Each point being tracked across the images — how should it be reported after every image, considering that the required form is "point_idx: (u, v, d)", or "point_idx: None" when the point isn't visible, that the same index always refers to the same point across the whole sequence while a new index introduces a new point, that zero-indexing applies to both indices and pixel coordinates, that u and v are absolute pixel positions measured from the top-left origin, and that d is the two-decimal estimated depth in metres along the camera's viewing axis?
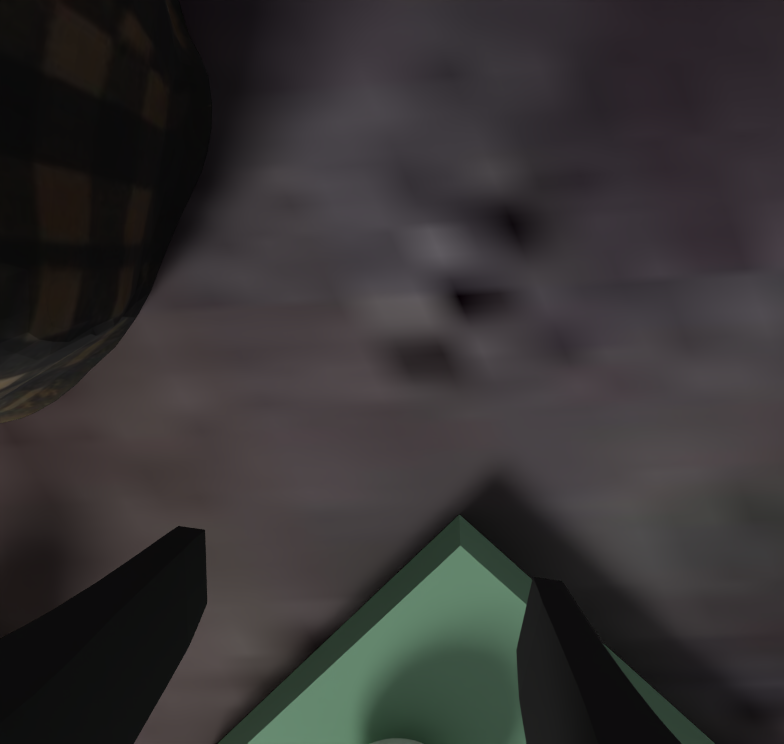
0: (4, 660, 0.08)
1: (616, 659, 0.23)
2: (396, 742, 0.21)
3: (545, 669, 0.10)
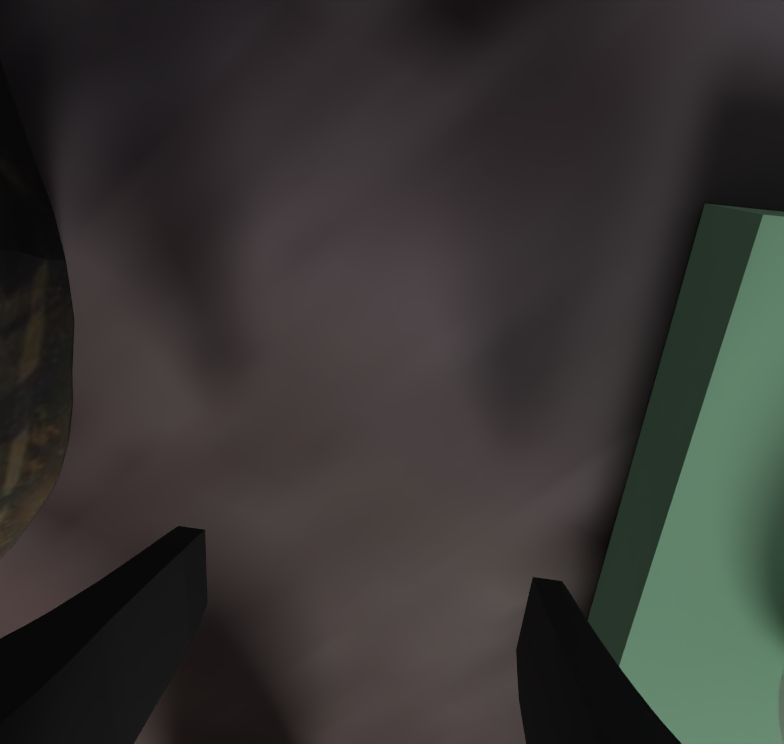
0: (4, 660, 0.08)
1: None
2: None
3: (545, 669, 0.10)
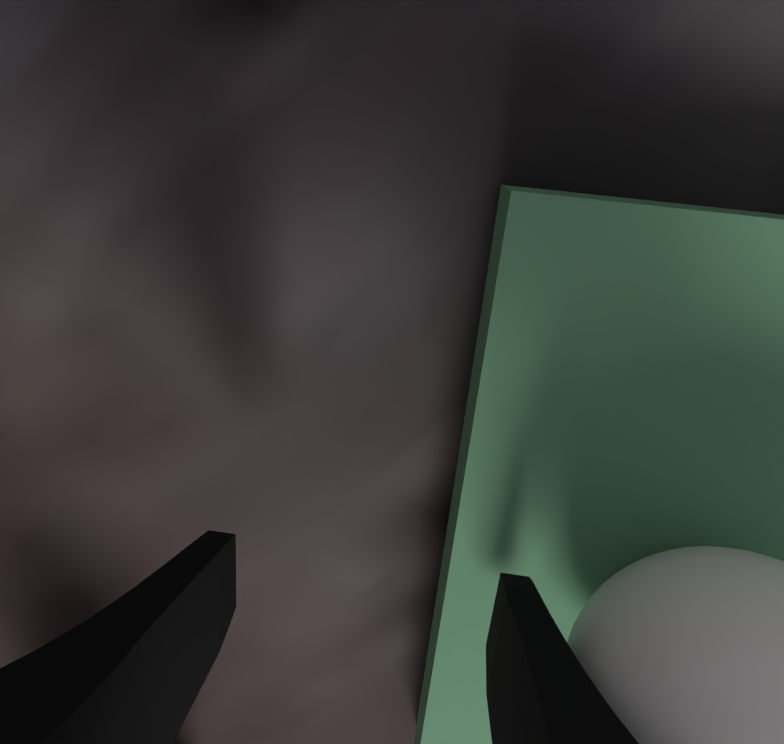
0: (50, 667, 0.08)
1: None
2: (626, 572, 0.11)
3: (508, 663, 0.10)
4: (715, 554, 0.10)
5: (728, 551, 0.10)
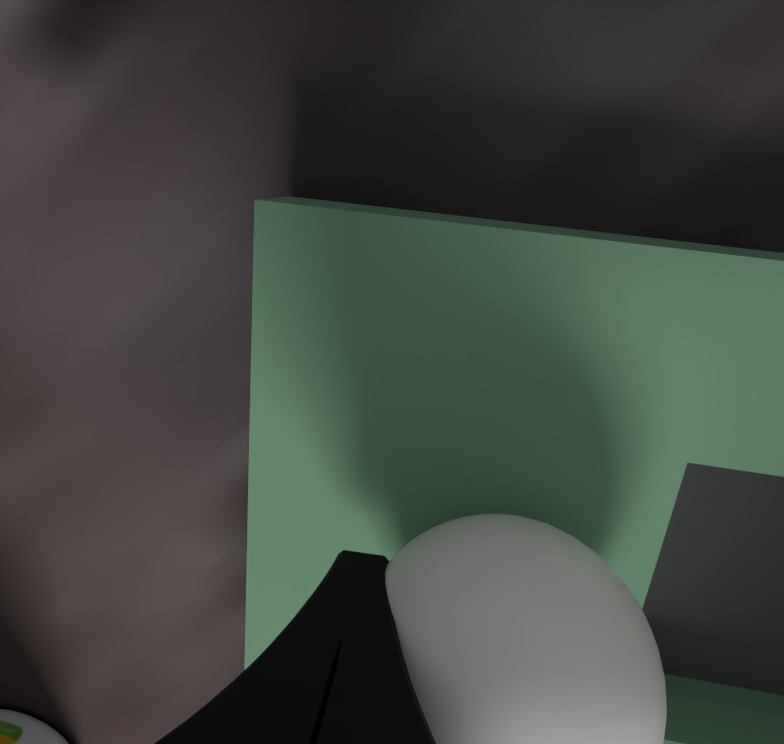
0: (258, 700, 0.08)
1: (651, 238, 0.13)
2: (396, 556, 0.12)
3: None
4: (466, 521, 0.11)
5: (477, 516, 0.12)
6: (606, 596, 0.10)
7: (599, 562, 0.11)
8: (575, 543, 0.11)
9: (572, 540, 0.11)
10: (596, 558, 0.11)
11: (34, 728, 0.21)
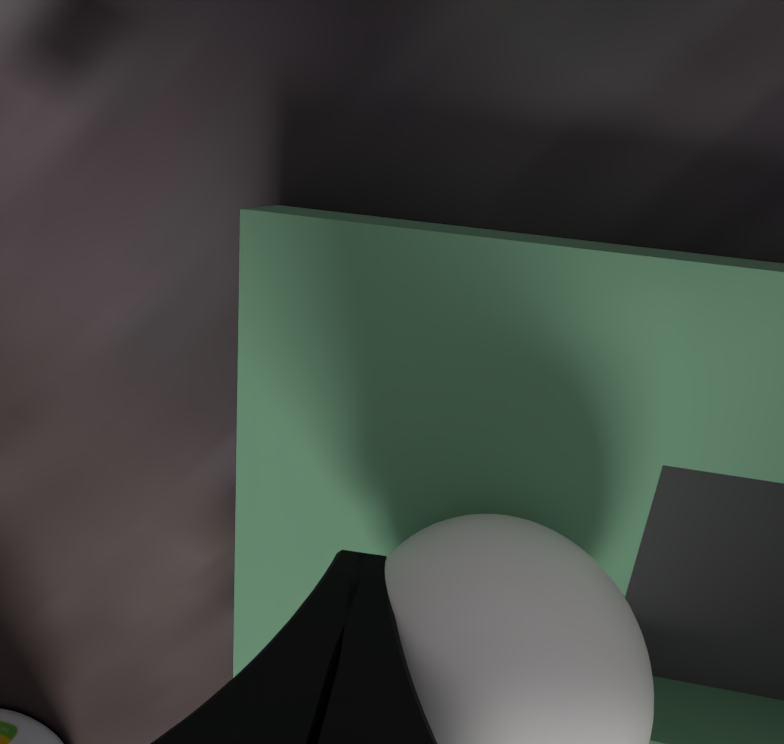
0: (256, 700, 0.08)
1: (628, 246, 0.14)
2: (387, 561, 0.12)
3: None
4: (455, 522, 0.12)
5: (463, 517, 0.12)
6: (594, 585, 0.10)
7: (584, 554, 0.11)
8: (560, 537, 0.11)
9: (557, 534, 0.11)
10: (581, 550, 0.11)
11: (29, 727, 0.22)
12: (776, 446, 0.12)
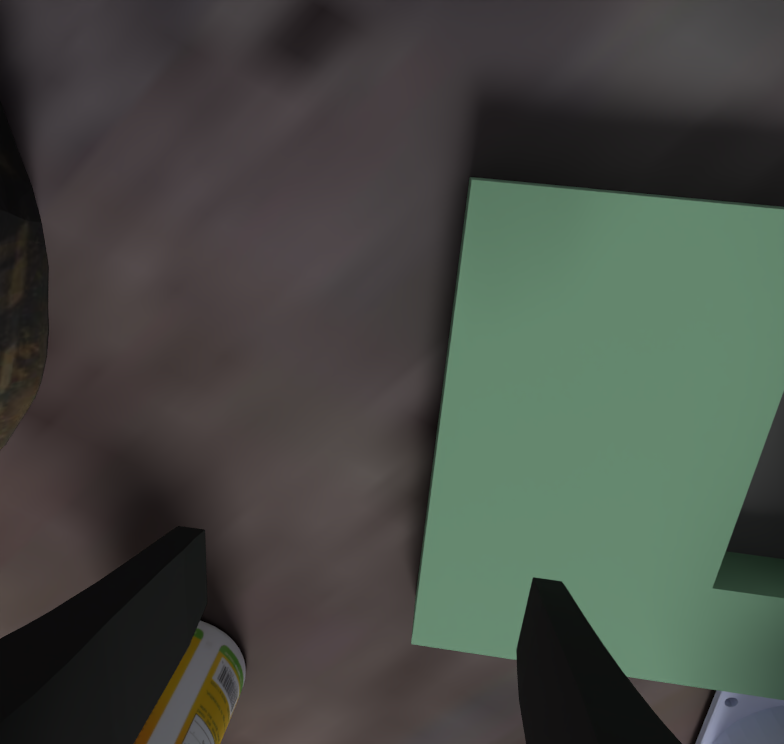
0: (4, 659, 0.08)
1: (758, 204, 0.17)
2: None
3: (545, 669, 0.10)
4: None
5: None
6: None
7: None
8: None
9: None
10: None
11: (211, 630, 0.26)
12: None
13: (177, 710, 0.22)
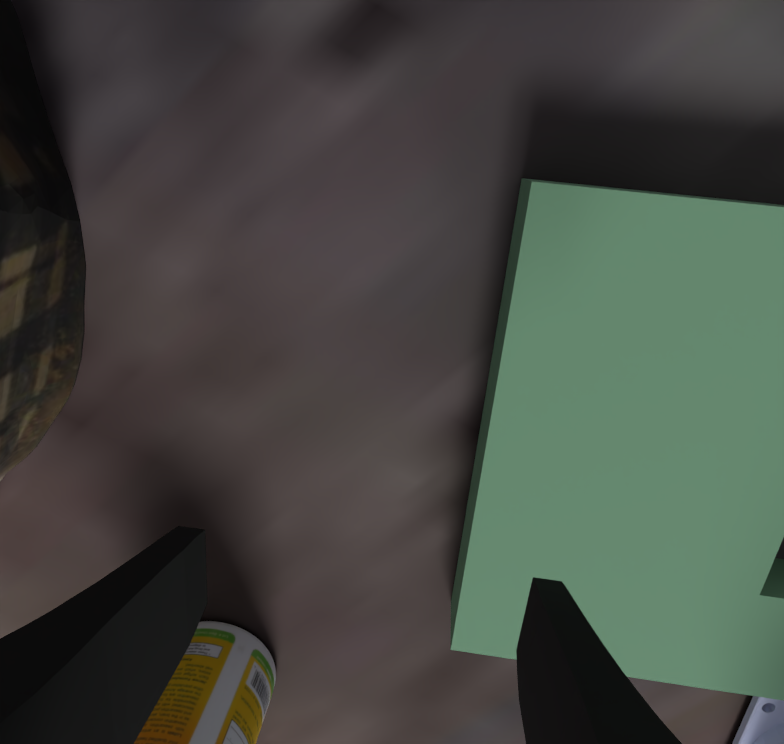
0: (5, 660, 0.08)
1: None
2: None
3: (545, 669, 0.10)
4: None
5: None
6: None
7: None
8: None
9: None
10: None
11: (242, 634, 0.25)
12: None
13: (214, 716, 0.22)
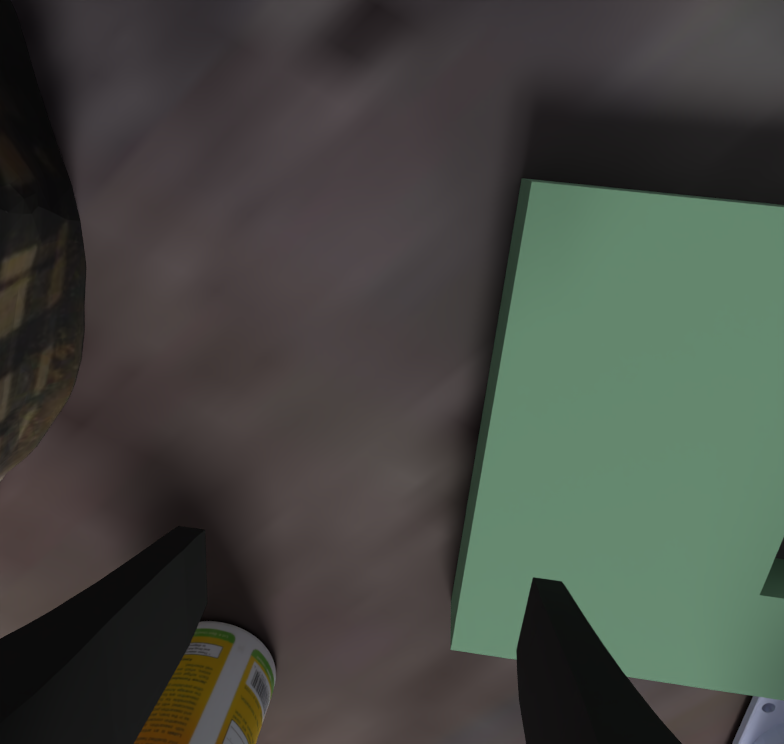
0: (5, 660, 0.08)
1: None
2: None
3: (545, 669, 0.10)
4: None
5: None
6: None
7: None
8: None
9: None
10: None
11: (242, 634, 0.25)
12: None
13: (214, 716, 0.22)
